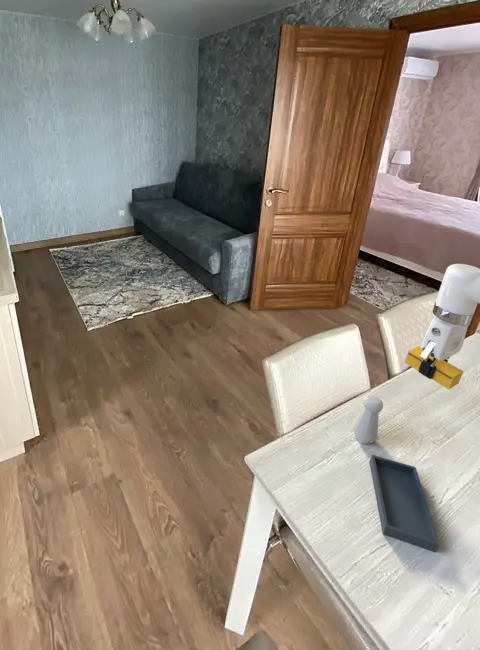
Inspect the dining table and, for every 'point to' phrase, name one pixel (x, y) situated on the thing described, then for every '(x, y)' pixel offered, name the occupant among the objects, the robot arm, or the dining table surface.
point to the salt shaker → (368, 420)
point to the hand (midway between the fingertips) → (431, 371)
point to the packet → (443, 372)
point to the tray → (402, 503)
